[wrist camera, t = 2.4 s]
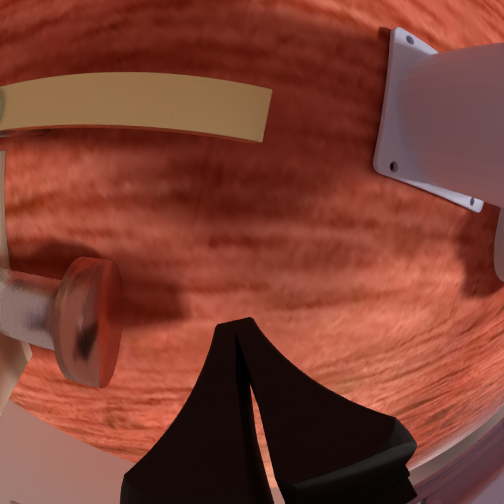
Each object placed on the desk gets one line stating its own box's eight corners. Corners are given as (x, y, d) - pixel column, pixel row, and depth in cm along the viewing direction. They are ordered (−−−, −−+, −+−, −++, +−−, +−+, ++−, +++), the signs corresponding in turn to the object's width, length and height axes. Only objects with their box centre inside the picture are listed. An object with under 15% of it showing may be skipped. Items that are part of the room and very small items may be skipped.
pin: (122, 241, 10) (76, 303, 6) (125, 336, 12) (102, 413, 8) (-17, 224, 9) (-77, 261, 4) (-2, 306, 10) (-44, 357, 6)
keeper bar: (248, 105, 10) (278, 79, 5) (240, 148, 10) (264, 150, 6) (31, 98, 8) (-35, 88, 3) (25, 136, 8) (-43, 142, 4)
